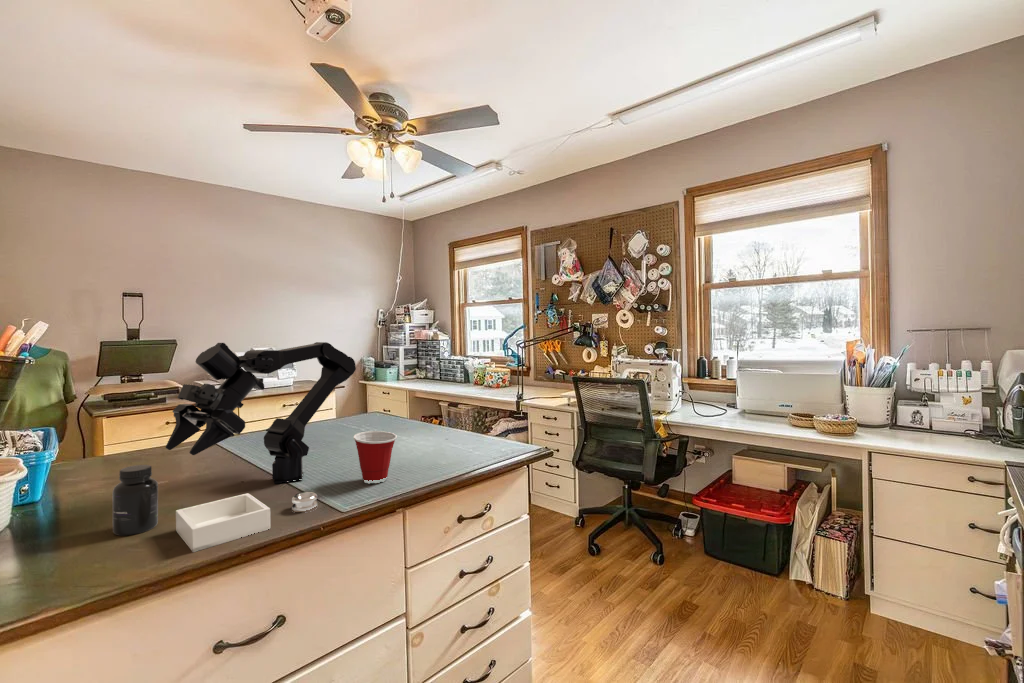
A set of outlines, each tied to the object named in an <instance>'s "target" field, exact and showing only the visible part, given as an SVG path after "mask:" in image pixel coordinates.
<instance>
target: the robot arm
mask: <svg viewBox="0 0 1024 683" xmlns="http://www.w3.org/2000/svg"><path fill="white" fill-rule="evenodd" d="M312 359H317V362H318V363H319V365H320V366H322V367H321V370H320V371H321V373H320V377H319V379H318V380H317V381H316V382H315V383H314V385H313V386H312V388H311V389H310V390H309V391H308V392H307V393H306V394H305V396H304V397H303V398H302V400H301V401H299V403H298V404H297V405H296V407H295V408H294V409H293V411H292V412H291V413H290V414H289V416H287V417H286V418H279V417H276V419H275V420H273V422H272V424H271V425H270V426H269V427H268V428H266V429H265V432H266V433H265V434H264V436H263V445H264V447H265V448H266V450H268V453H269V456H273V457H274V461H273V462H272V464H271V465H272V466H271V467H272V468H271V469H272V477H271V478H272V480H274V481H273V484H275V485H276V484H282V482H285V483H288V482H287V481H293V480H299V479H302V480H303V478H304V471H303V457H305V456H306V457H307V456H308V454H309V450H310V446H308V445H307V444H306V443H305V442H304V441H303V439H304V437H305V429H306V426H307V425H308V423H309V422H310V420H311V419H312V418H313V417H314V415H316V413H317V411H319V409H320V408H321V406H322V405H323V403H324V402H325V401H326V400H327V399H328V397H329V396H330V395H331V393H332V392H333V391H334V389H335V388H336V387H337V386H338V385H340V384H343V383H345V382H346V381H348V379H349V378H351V377H352V375H354V374H355V372H356V369H357V367H356V361H355V359H354V358H353V357H352V356H348V355H347V354H346V353H345V352H343V351H341V350H340V349H338V348H335V347H334V346H333V345H332V344H330V343H329V342H326V341H325V342H324V341H323V342H322V341H321V342H314V343H310V344H306V345H305V344H304V345H299V346H293V347H289V348H288V347H287V348H282V349H277V350H276V349H251V350H247V351H245V352H244V353H243V355H240V356H238V355H236V353H234V352H233V350H231V349H230V347H229V346H228V345H227V344H226V343H225V342H217V343H216V344H215V345H214V346H211V347H209V348H208V349H206V350H205V351H202V352H200V354H199V355H198V356H197V357H196V359H195V364H197V365H198V367H200V368H201V369H202V370H203V371H204V372H205V373H207V374H208V375H209V376H210V377H212V378H213V379H214V380H216V381H219V380H220V381H221V380H224V381H223V382H222V383H221V384H220V386H218V387H217V388H216V385H214V384H210V383H202V385H201V386H200V385H194V384H185V383H183V385H182V387H181V388H180V391H179V393H178V395H177V397H176V398H177V399H178V400H181V401H183V400H185V401H189V402H191V403H194V404H191V403H190V404H188V403H181V404H177V406H176V407H175V408H174V409H172V413H173V418H175V425H174V428H173V431H172V433H171V434H170V437H169V439H168V441H167V443H166V444H165V449H166V450H168V451H171V450H173V449H175V448H177V447H178V446H179V445H180V444H182V443H184V442H185V441H186V440H187V439H190V438H191V437H192V436H194V435H195V434H197V433H198V432H200V431H201V428H202V427H204V426H205V425H206V426H205V429H204V431H203V432H202V433H201V435H200V436H199V438H198V439H197V440H196V442H195V443H194V444H193V446H192V447H191V449H190V450H189V454H190V455H191V456H195V455H198V454H200V453H202V452H203V451H205V450H207V449H208V448H209V449H210V448H211V447H213V446H214V445H216V444H218V443H221V442H223V441H225V440H227V439H228V438H229V439H230V438H233V437H234V436H235V435H240V434H241V433H242V432H243V431H244V430H245V428H246V421H245V420H244V419H243V418H241V417H240V415H238V414H237V413H236V412H234V411H235V410H236V409H237V408H238V409H241V408H242V407H243V406H244V403H243V401H244V400H245V398H246V397H247V396H248V395H249V393H250V392H252V390H253V389H254V390H261V391H262V390H263V391H264V390H265V384H264V378H262V377H257V376H256V375H255V374H260V375H261V374H262V375H263V374H264V375H266V374H268V375H269V374H271V373H274V372H277V371H279V370H281V369H282V368H284V367H285V366H288V365H289V364H290V365H291V364H294V363H298V362H304V361H309V360H312ZM302 474H303V476H302ZM302 477H303V478H302Z"/></svg>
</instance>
